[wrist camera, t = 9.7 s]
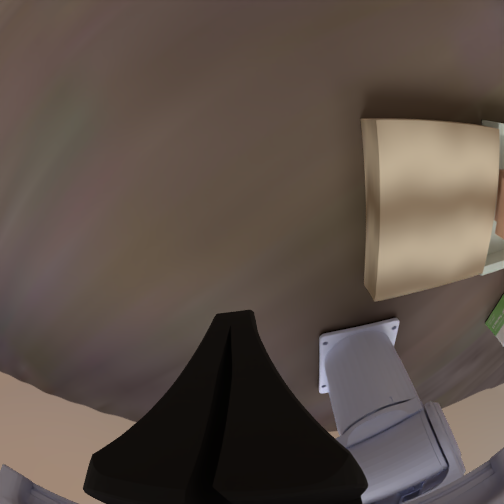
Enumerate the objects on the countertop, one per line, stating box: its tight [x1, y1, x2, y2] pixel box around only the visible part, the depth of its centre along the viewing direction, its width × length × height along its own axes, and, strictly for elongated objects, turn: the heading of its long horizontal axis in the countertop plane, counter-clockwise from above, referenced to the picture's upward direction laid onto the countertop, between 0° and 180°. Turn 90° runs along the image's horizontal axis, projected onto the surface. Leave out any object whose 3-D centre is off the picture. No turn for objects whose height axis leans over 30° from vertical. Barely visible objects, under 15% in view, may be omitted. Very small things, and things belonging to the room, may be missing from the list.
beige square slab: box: [360, 118, 500, 302], centre depth 18 cm, size 13×12×2 cm
